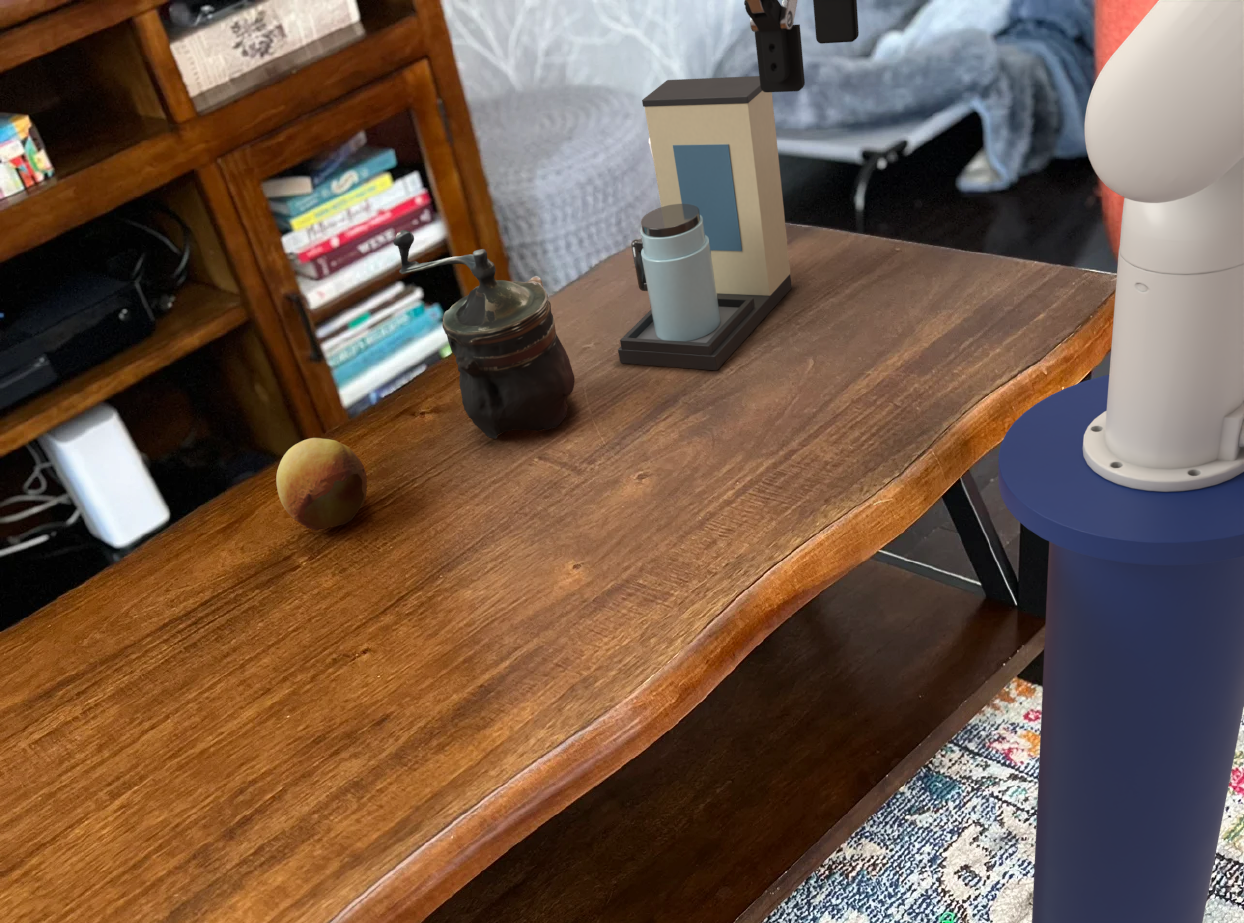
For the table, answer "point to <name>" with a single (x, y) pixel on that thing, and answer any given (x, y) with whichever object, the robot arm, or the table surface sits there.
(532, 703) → the table surface
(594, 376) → the table surface
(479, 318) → the coffee grinder
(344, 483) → the fruit
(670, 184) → the coffee maker
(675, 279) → the carafe
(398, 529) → the table surface
